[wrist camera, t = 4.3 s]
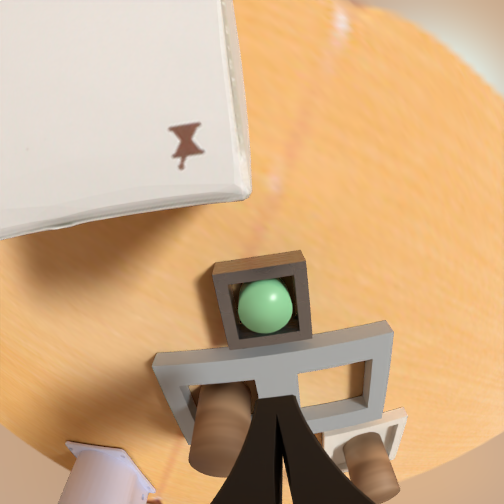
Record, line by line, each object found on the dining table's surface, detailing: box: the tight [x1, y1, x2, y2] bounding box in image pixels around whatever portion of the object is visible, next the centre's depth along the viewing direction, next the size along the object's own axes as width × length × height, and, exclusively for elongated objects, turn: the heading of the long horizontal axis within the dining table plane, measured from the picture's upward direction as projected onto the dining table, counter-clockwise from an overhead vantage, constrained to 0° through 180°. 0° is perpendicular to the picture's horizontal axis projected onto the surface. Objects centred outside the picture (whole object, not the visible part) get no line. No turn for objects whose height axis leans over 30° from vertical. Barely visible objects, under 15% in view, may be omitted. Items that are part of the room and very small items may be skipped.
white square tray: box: [322, 407, 408, 472], centre depth 24 cm, size 8×8×1 cm
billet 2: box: [343, 432, 400, 504], centre depth 21 cm, size 4×4×6 cm
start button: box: [238, 277, 292, 333], centre depth 18 cm, size 3×3×2 cm
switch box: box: [212, 250, 312, 350], centre depth 18 cm, size 5×5×2 cm
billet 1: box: [189, 381, 251, 477], centre depth 19 cm, size 4×4×6 cm
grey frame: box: [152, 320, 394, 445], centre depth 21 cm, size 9×16×2 cm, turn 99°
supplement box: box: [0, 0, 252, 240], centre depth 9 cm, size 7×7×13 cm
